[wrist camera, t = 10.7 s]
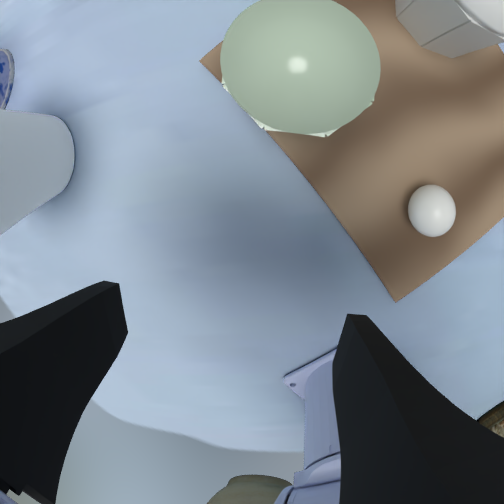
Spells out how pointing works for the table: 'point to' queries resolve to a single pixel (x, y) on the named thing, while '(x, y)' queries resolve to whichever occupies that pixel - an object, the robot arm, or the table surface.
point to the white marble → (431, 210)
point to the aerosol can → (5, 76)
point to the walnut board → (409, 151)
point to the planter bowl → (250, 490)
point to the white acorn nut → (453, 24)
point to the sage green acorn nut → (300, 65)
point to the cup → (31, 163)
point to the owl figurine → (494, 419)
